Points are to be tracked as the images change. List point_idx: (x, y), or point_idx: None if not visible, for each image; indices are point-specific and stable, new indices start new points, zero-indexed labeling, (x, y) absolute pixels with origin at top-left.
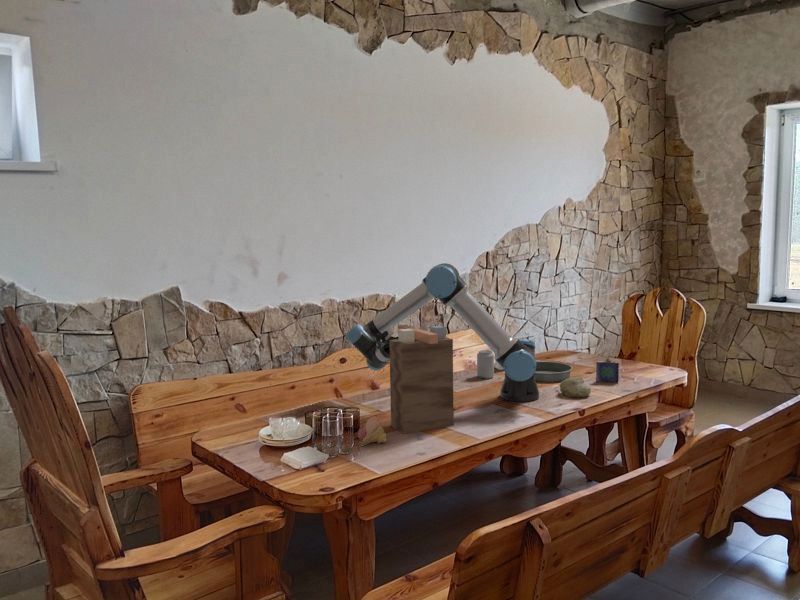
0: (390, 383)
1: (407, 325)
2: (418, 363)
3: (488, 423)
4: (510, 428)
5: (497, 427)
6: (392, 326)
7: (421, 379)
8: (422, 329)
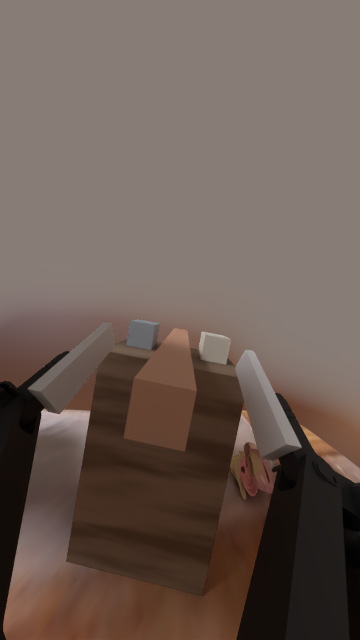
0: (224, 490)
1: (146, 363)
2: None
3: (73, 443)
4: (86, 414)
5: (88, 424)
6: (244, 353)
7: None
8: (91, 360)
